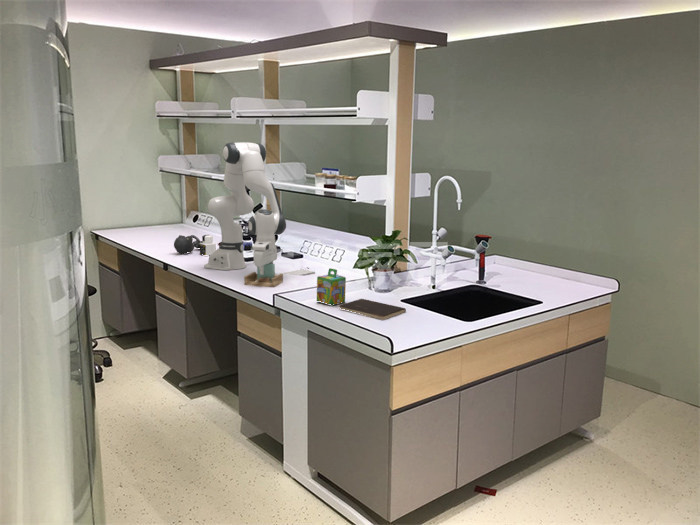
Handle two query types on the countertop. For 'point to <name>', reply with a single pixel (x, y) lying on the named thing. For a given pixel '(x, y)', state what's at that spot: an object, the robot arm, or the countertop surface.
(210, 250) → the medicine bottle
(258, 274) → the panel
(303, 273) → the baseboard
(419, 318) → the countertop surface
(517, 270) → the countertop surface
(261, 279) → the offcut short
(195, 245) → the gas mask
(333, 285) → the green printed box
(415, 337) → the countertop surface
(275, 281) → the rack
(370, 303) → the hardcover book
